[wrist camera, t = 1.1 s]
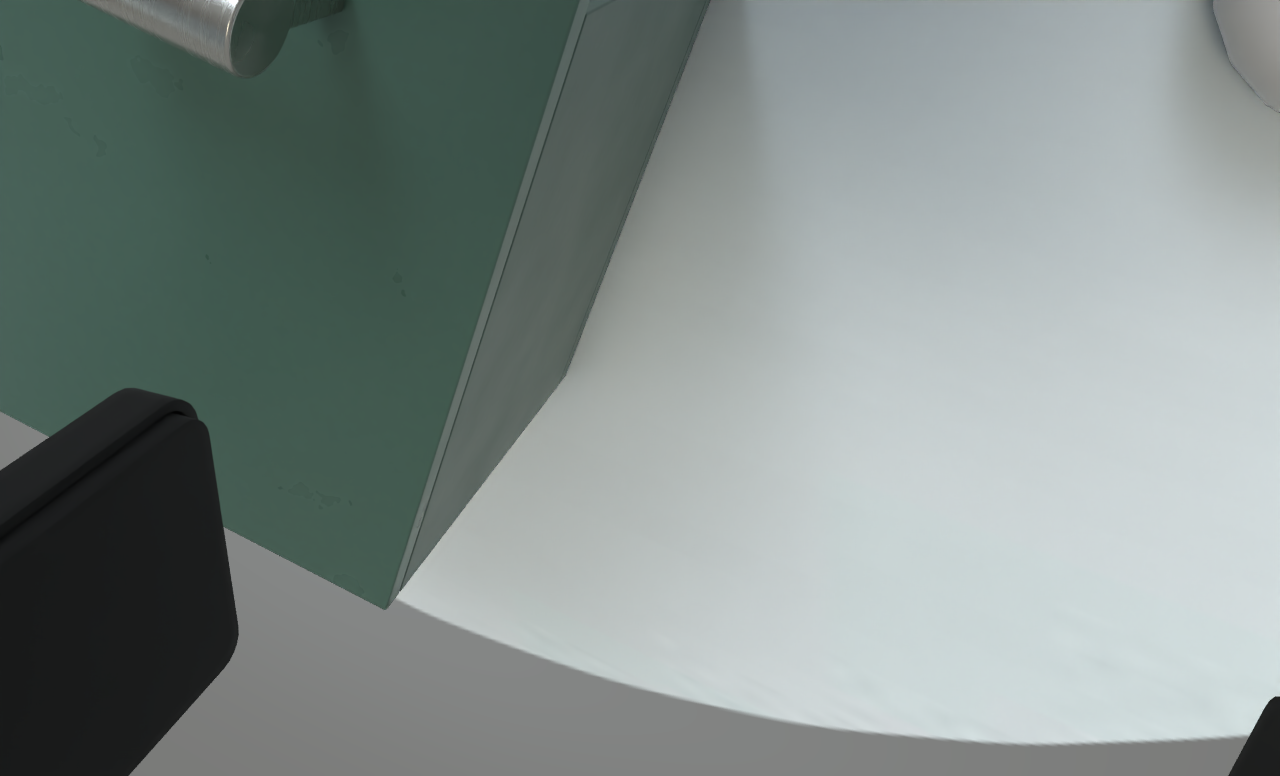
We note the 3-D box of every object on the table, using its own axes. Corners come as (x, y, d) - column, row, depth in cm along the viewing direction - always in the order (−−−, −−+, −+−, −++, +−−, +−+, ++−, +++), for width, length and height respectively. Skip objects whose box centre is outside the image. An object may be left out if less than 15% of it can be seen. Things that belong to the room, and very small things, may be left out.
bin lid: (-33, -318, 22) (-276, -343, 18) (598, -25, 21) (496, 21, 17) (-30, 373, 32) (-186, 460, 28) (398, 593, 31) (304, 718, 27)
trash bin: (322, -253, 34) (-31, -275, 23) (735, -64, 33) (587, 14, 22) (246, 218, 44) (-28, 372, 32) (565, 376, 43) (399, 593, 31)
